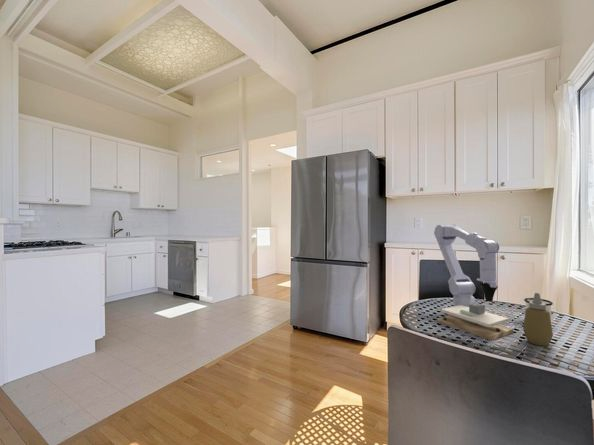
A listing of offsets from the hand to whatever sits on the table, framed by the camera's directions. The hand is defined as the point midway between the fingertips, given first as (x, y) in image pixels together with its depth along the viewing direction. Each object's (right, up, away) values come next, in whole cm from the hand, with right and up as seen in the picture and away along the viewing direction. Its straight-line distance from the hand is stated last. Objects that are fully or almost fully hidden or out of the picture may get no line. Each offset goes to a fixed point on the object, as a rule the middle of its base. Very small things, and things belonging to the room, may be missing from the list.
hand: (488, 301), depth 116 cm
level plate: (-7, -6, -1) cm, 9 cm away
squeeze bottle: (+6, -11, -17) cm, 21 cm away
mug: (+23, -10, +4) cm, 25 cm away
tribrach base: (-7, -11, -1) cm, 13 cm away
